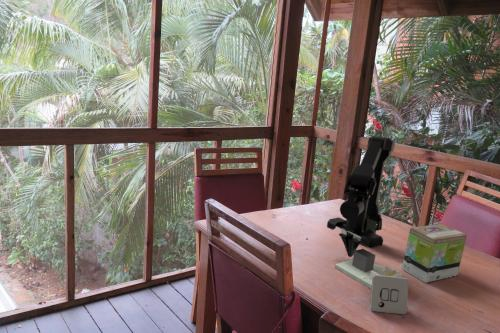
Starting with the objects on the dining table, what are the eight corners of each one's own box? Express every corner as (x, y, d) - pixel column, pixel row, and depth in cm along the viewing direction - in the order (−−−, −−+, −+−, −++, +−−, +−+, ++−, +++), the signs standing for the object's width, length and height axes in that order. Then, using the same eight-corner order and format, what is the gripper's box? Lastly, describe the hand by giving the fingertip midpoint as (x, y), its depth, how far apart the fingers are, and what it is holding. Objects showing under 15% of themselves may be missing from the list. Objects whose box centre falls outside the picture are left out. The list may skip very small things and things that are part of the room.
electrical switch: (370, 311, 105) (374, 277, 104) (365, 302, 110) (370, 270, 109) (406, 316, 104) (411, 282, 103) (400, 306, 109) (405, 274, 108)
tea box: (426, 284, 122) (435, 239, 118) (400, 269, 130) (408, 226, 127) (458, 276, 129) (468, 233, 125) (432, 262, 137) (440, 222, 134)
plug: (360, 262, 130) (362, 248, 129) (373, 269, 126) (375, 254, 125) (352, 265, 127) (354, 250, 126) (364, 272, 124) (367, 257, 122)
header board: (334, 267, 128) (336, 254, 127) (361, 259, 135) (363, 247, 134) (378, 293, 114) (380, 279, 113) (405, 283, 122) (408, 269, 120)
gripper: (397, 217, 124) (389, 263, 128) (351, 199, 139) (345, 241, 142) (374, 222, 118) (366, 271, 121) (328, 203, 133) (322, 246, 136)
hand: (350, 256), depth 130 cm, fingers closed
